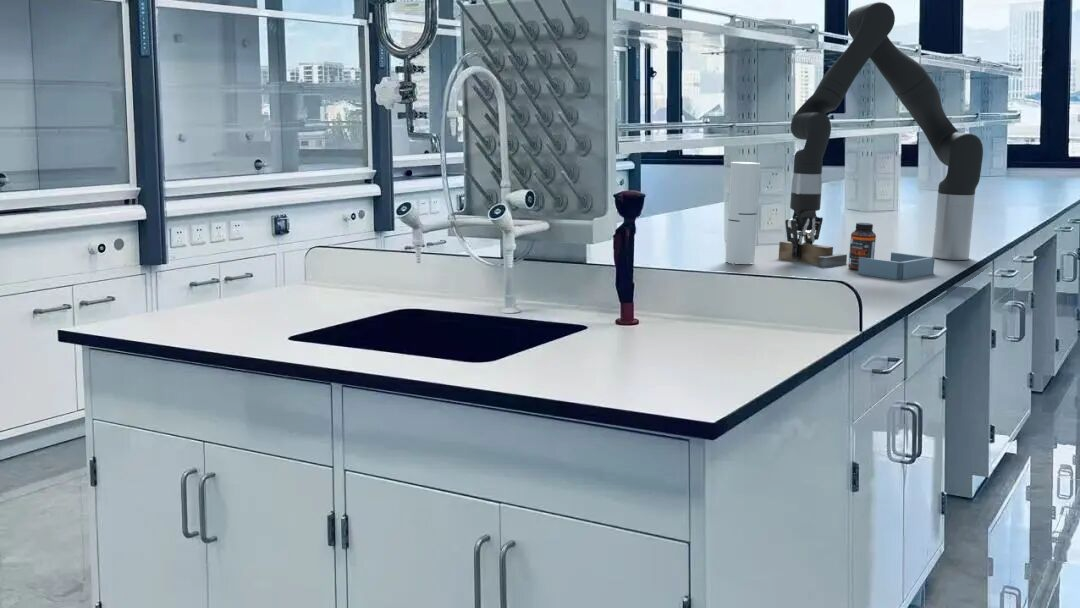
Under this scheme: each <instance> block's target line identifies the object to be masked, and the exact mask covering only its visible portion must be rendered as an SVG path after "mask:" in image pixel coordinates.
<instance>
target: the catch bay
mask: <svg viewBox="0 0 1080 608" xmlns="http://www.w3.org/2000/svg"><path fill="white" fill-rule="evenodd" d="M935 259H936V258H935V257H932V256H926V255H918V254H912V253H911V254H910V253H902V252H895V251H893V252H890V259H889V260H886V259H879V258H874V259H872V258H865V257H859V268H858V270H857V275H862V276H863V275H864V276H870V277H875V278H876V277H877V278H884V279H890V280H897V281H903V280H908V279H914V278H919V277H924V276H929V275H934V273H935V271H934V270H935Z"/></svg>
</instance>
